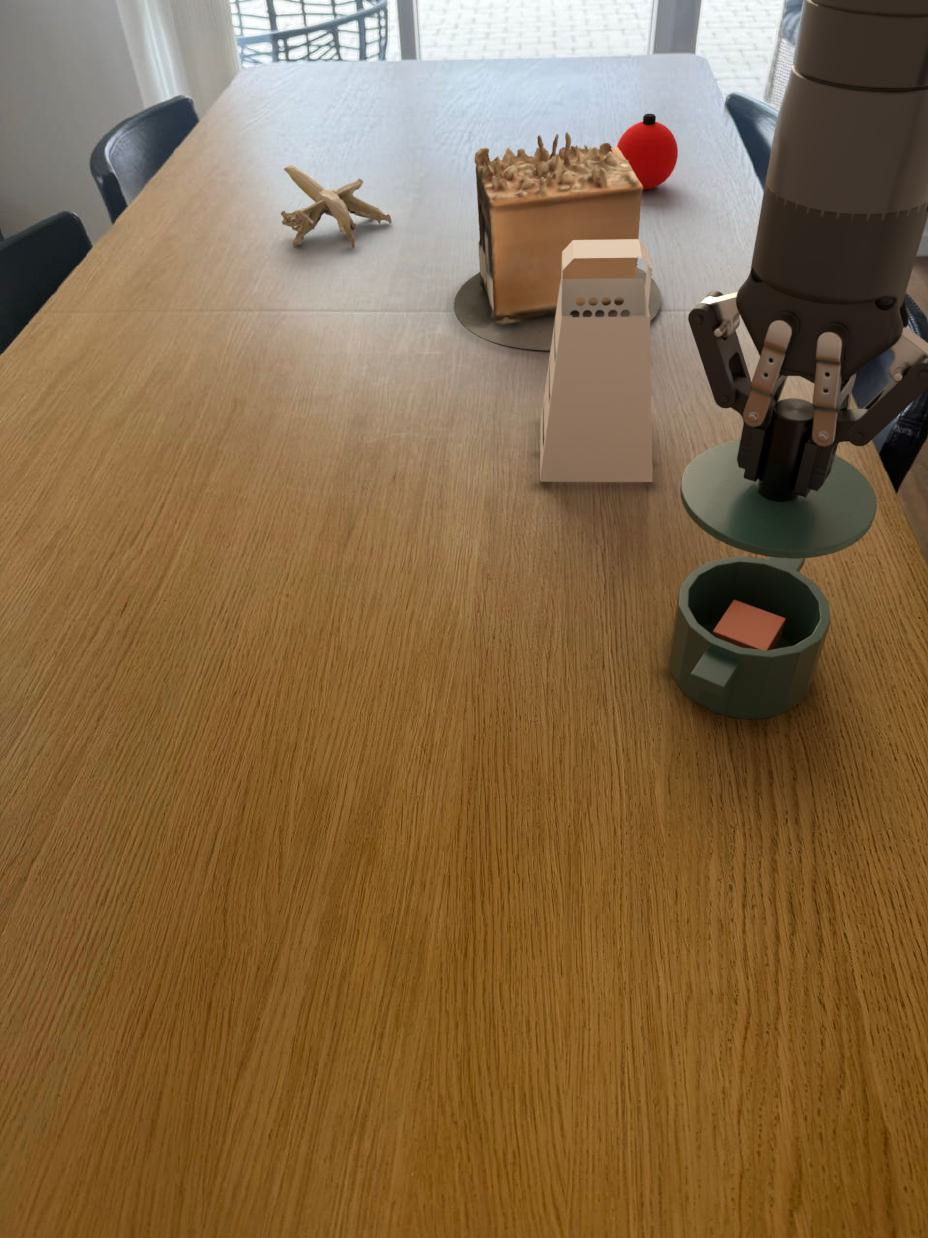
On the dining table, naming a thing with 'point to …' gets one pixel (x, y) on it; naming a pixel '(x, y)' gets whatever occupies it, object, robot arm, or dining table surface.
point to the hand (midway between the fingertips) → (780, 480)
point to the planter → (547, 238)
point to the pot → (745, 674)
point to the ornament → (649, 151)
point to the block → (750, 627)
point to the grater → (599, 376)
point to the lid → (778, 495)
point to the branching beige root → (328, 207)
